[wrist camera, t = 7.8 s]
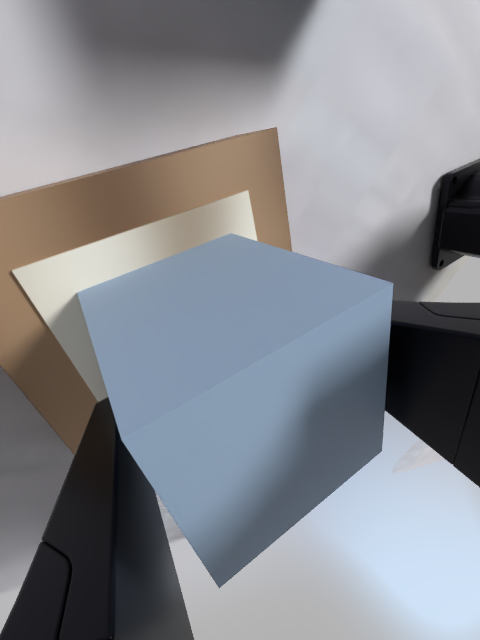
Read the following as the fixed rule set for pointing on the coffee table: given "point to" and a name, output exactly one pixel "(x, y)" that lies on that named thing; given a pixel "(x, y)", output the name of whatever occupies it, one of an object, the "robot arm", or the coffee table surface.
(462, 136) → the coffee table surface
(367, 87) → the coffee table surface
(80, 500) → the robot arm
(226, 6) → the coffee table surface
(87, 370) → the picture frame
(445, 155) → the coffee table surface
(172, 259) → the block
